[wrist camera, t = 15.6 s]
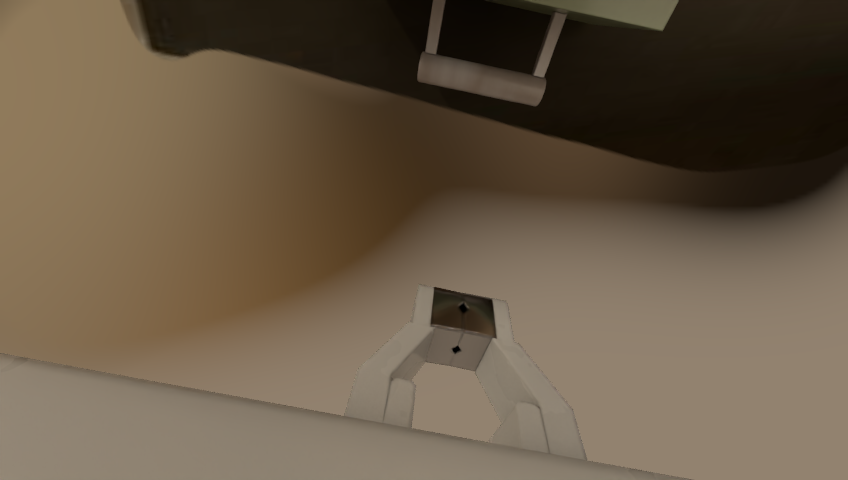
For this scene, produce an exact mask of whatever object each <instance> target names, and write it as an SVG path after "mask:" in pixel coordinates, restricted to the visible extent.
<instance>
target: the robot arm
mask: <svg viewBox="0 0 848 480" xmlns="http://www.w3.org/2000/svg"><path fill="white" fill-rule="evenodd" d="M425 362H429V363H435V364H441V365H449V366H453V367H458V368H462V369H467V370H471V371H475V374H476V376H477V378H478V379H479V381H480V383H481V385H482V387H483V388H484V390H485V393H486V394H487V396H488V398H489V400H490V402H491V404H492V406H493V407H494V410H495V411H496V413H497V415H498V417H499V419H500V421H501V423H502V424H501V425H500V427H499V428H498V429H497V431H496V432H495V433H494V435H493V436H492V437H491V439H490V440H489V443H488V442H484V441H478V440H472V439H467V438H462V437H456V436H451V435H445V434H440V433H434V432H429V431H423V430H417V429H412V428H411V427H412V418H413V409H414V400H415V390H416V385H415V384H414V383H413V382H412V378H413V377H414V376H415V375H416V373H417V372H418V371H419V370H420V368H421V367H422V366H423V365H424V363H425ZM0 480H691V479H686V478H680V477H675V476H669V475H664V474H658V473H653V472H647V471H642V470H636V469H631V468H625V467H620V466H615V465H609V464H604V463H598V462H593V461H587V458H586V454H585V450H584V447H583V443H582V440H581V437H580V433H579V430H578V426H577V423H576V419H575V416H574V412H573V409H572V408H571V407H570V405H569V404H568V403H567V402H566V401H565V400H564V398H563V397H562V396H561V394H560V393H559V392H558V391H557V389H556V388H555V387H554V386H553V385H552V383H551V382H550V381H549V380H548V378H547V377H546V376H545V375H544V373H543V372H542V371H541V370H540V369H539V367H538V366H537V365H536V364H535V362H534V361H533V360H532V359H531V358H530V356H529V355H528V354H527V353H526V351H525V350H524V349H523V348H522V346H521V345H520V344H519V343H516V342H514V338H513V331H512V326H511V320H510V315H509V308H508V303H507V302H506V301H504V300H498V299H493V298H487V297H482V296H476V295H471V294H466V293H460V292H455V291H451V290H446V289H441V288H437V287H431V286H426V285H422V284H419V286H418V290H417V294H416V298H415V303H414V307H413V312H412V316H411V322H408V323H407V324H406V325H405V326H404V327H403V328H401V329H400V330H399V331H398V332H397V333H396V334H395V335H394V336H393V337H392V338H391V339H390V340H389V341H387V343H386V344H385V345H383V346H382V347H381V348H380V349H379V350H378V351H377V352H376V353H375V354H374V355H372V356H371V357H370V358H369V359H368V360H367V361H366V362H365V363H364V364H363V365H362V366H361V367H360V368H358V371H357V374H356V378H355V381H354V385H353V387H352V391H351V394H350V398H349V401H348V404H347V408H346V411H345V414H344V416H341V415H336V414H330V413H325V412H319V411H314V410H308V409H303V408H297V407H292V406H286V405H280V404H275V403H270V402H264V401H259V400H253V399H248V398H242V397H237V396H231V395H226V394H220V393H215V392H209V391H204V390H198V389H193V388H187V387H182V386H176V385H171V384H165V383H159V382H155V381H149V380H144V379H138V378H132V377H127V376H121V375H116V374H110V373H105V372H100V371H94V370H89V369H83V368H78V367H72V366H67V365H62V364H56V363H50V362H45V361H40V360H35V359H29V358H23V357H18V356H13V355H8V354H2V353H0Z"/></svg>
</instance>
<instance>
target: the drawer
mask: <svg viewBox="0 0 848 480" xmlns="http://www.w3.org/2000/svg"><path fill="white" fill-rule="evenodd" d="M445 1H446V0H433V3H432V10H431V17H430V23H429V30H428V37H427V43H426V50H425V52H422V53H421V57H420V62H419V68H418V76H417V80H418V82H422V83H427V84H432V85H436V86H441V87H446V88H450V89H455V90H460V91H465V92H469V93H474V94H479V95H483V96H488V97H493V98H498V99H502V100H507V101H512V102H517V103H521V104H526V105H531V106H537V105H538V104H539V102H540V101H541V99H542V97H543V94H544V91H545V87H546V79H545V78H544V75H545V73H546V70H547V67H548V65H549V62H550V59H551V56H552V54H553V51H554V48H555V46H556V43H557V40H558V38H559V35H560V32H561V29H562V27H563V24H564V21H565V19H571V20H575V21H580V22H584V23H589V24H593V25H600V26H611V27H622V28H633V29H644V30H655V31H663V29H664V27H665V25H666V23H667V22H668V20H669V18H670V16H671V14H672V12H673V10H674V9H675V7H676V5H677V3H678V1H679V0H484V1H489V2H493V3H498V4H502V5H507V6H512V7H516V8H521V9H525V10H530V11H534V12H539V13H543V14H548V15H551V18H550V21H549V24H548V27H547V30H546V33H545V36H544V39H543V42H542V44H541V47H540V50H539V53H538V56H537V59H536V62H535V65H534V68H533V71H532V75H530V74H526V73H521V72H516V71H512V70H507V69H502V68H498V67H493V66H488V65H484V64H479V63H474V62H470V61H465V60H460V59H456V58H451V57H446V56H442V55H437V54H436V53H437V48H438V42H439V36H440V30H441V25H442V19H443V13H444V7H445Z"/></svg>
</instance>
